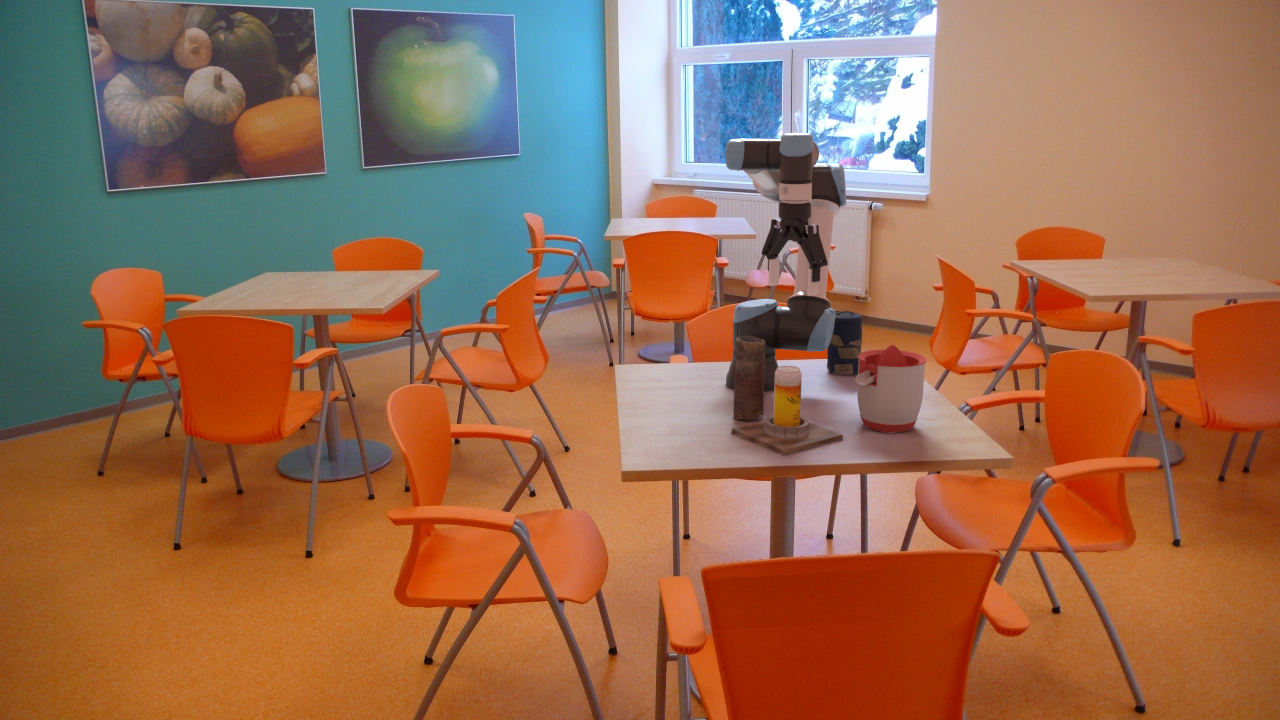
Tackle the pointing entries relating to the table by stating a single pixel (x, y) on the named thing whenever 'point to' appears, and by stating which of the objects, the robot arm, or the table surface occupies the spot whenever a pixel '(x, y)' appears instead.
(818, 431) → the can holder
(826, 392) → the table surface
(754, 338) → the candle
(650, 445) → the table surface
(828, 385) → the table surface
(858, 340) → the canister
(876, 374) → the citrus juicer
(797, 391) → the beer can
